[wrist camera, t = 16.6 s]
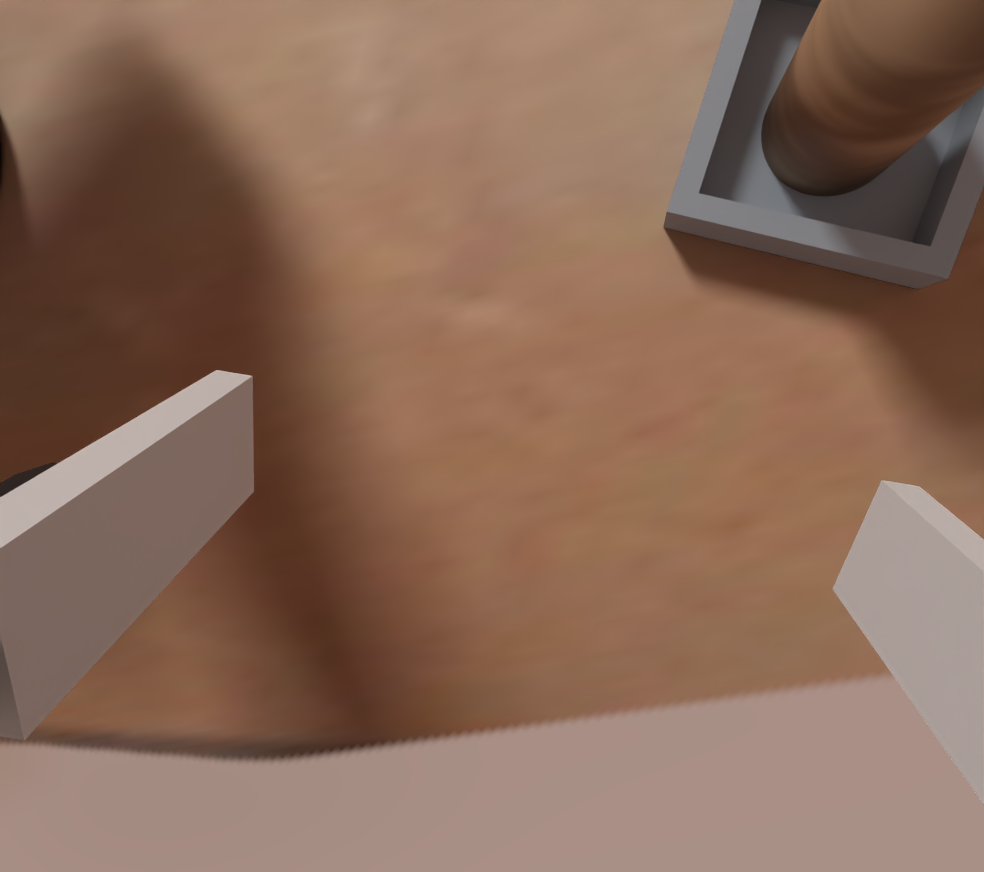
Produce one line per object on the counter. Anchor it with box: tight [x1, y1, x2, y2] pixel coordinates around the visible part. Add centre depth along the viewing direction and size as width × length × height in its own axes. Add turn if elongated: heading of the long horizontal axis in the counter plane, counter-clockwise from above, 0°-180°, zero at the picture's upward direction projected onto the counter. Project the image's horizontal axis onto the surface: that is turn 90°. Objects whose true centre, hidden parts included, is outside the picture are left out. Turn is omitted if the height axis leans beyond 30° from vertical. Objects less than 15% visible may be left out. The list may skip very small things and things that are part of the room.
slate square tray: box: [664, 0, 984, 289], centre depth 25 cm, size 11×11×2 cm
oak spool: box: [761, 0, 984, 196], centre depth 21 cm, size 6×6×11 cm
